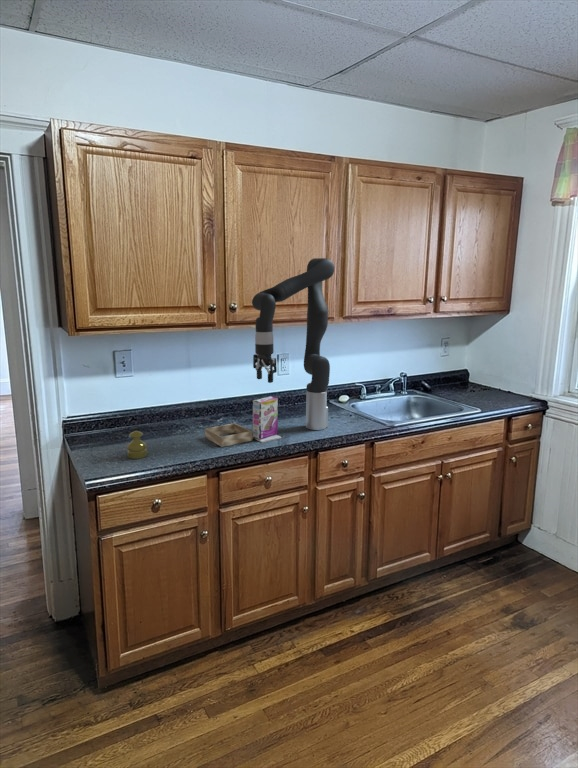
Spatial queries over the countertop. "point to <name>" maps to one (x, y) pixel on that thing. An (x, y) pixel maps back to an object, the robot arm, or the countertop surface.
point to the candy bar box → (265, 417)
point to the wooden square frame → (239, 437)
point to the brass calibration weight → (136, 446)
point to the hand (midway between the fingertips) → (264, 380)
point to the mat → (268, 438)
